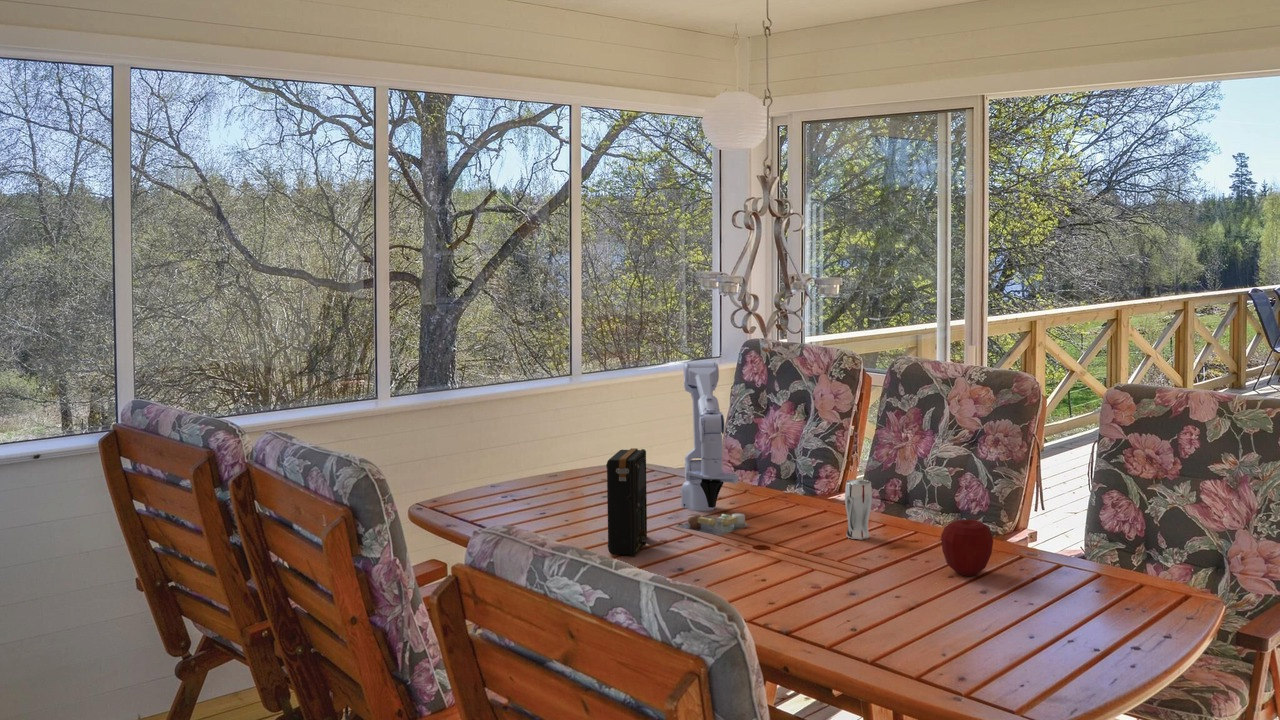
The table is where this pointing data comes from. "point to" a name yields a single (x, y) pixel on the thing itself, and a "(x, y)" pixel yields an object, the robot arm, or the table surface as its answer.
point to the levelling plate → (713, 528)
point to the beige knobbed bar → (699, 521)
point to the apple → (967, 546)
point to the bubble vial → (723, 517)
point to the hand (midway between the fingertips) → (712, 506)
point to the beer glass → (858, 508)
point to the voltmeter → (627, 501)
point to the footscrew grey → (734, 521)
